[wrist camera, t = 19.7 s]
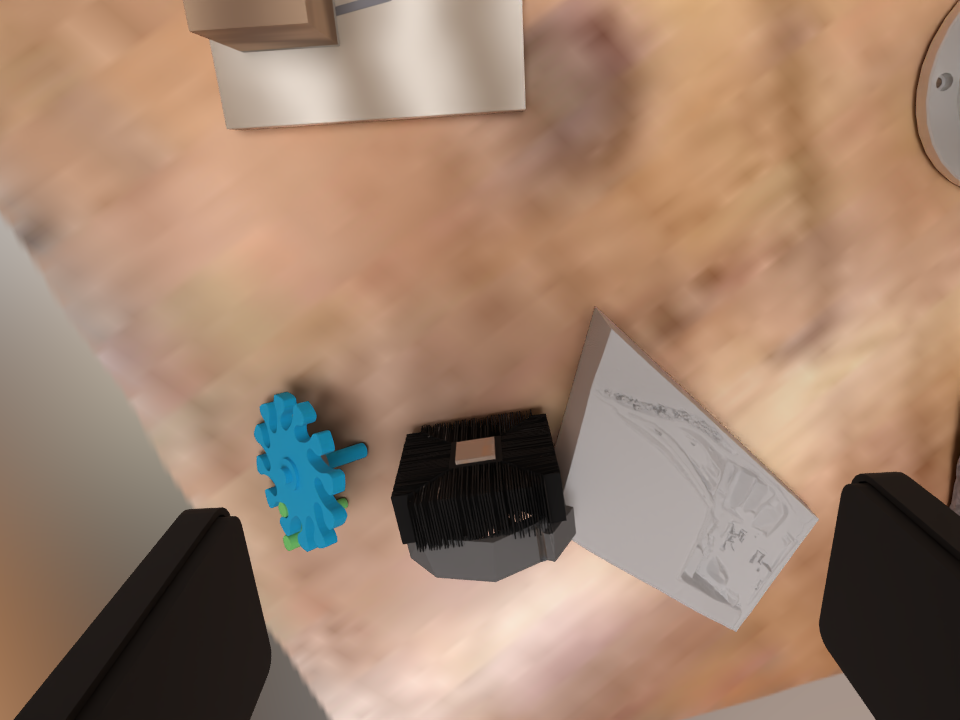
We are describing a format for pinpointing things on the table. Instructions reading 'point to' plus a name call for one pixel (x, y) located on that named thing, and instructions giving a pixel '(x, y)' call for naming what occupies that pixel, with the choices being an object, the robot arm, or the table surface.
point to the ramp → (670, 485)
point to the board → (383, 67)
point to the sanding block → (264, 23)
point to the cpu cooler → (482, 498)
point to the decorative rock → (956, 492)
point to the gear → (303, 472)
